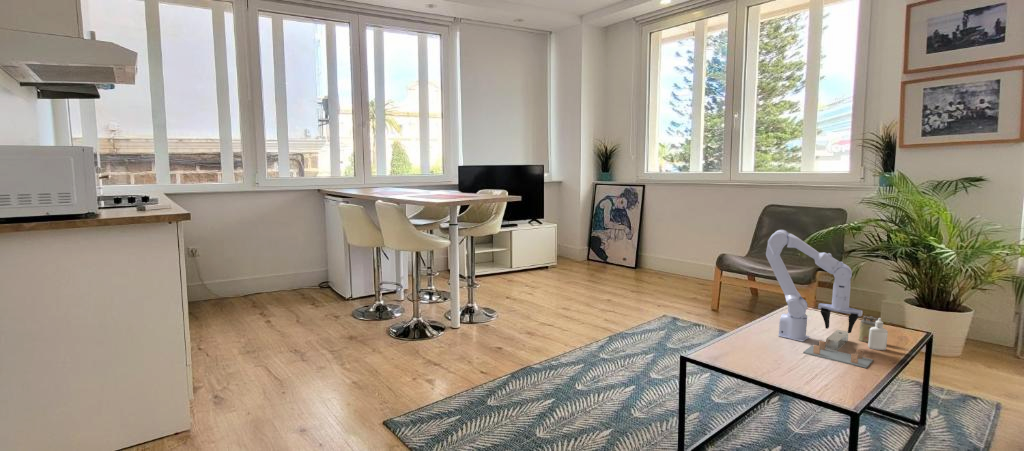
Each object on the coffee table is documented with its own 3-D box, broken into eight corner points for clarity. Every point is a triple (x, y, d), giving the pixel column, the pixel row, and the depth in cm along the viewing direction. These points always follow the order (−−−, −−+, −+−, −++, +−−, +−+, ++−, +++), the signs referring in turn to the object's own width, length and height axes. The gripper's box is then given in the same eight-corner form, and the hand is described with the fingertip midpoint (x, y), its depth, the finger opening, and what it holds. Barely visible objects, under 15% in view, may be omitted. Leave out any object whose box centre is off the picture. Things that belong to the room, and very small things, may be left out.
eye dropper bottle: (883, 351, 199) (886, 321, 198) (866, 347, 204) (869, 317, 202) (887, 349, 202) (890, 318, 200) (870, 345, 206) (873, 315, 205)
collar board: (803, 353, 197) (803, 344, 197) (811, 346, 204) (812, 337, 204) (866, 368, 183) (867, 358, 183) (873, 360, 190) (874, 351, 190)
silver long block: (837, 351, 200) (838, 341, 199) (825, 349, 203) (826, 338, 202) (847, 341, 211) (848, 331, 211) (836, 339, 214) (837, 329, 214)
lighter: (880, 342, 209) (882, 318, 208) (879, 345, 207) (881, 320, 205) (859, 338, 214) (861, 314, 213) (857, 340, 211) (859, 316, 210)
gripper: (816, 294, 207) (814, 328, 209) (860, 301, 197) (857, 337, 198) (822, 291, 212) (819, 324, 214) (865, 298, 202) (862, 332, 203)
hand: (838, 330), depth 206 cm, fingers open, 7 cm apart
